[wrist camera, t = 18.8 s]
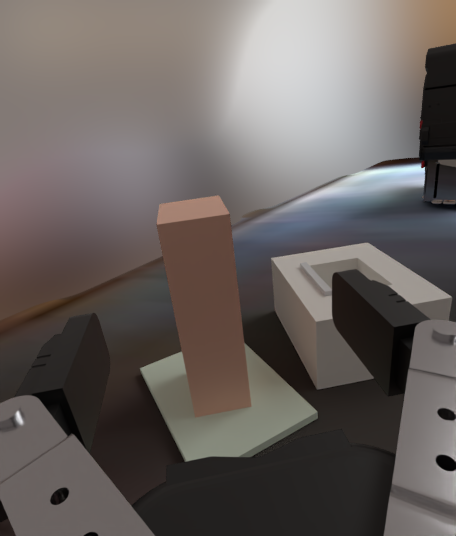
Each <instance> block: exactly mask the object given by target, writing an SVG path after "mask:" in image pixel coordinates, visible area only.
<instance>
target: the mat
mask: <svg viewBox="0 0 456 536" xmlns="http://www.w3.org/2000/svg"><path fill="white" fill-rule="evenodd" d="M244 345H245V353H246V362H247V371H248V380H249V389H250V397H251V406H252V407H247V408H241V409H236V410H231V411H226V412H221V413H216V414H211V415H206V416H200V417H195V414H194V409H193V404H192V399H191V394H190V389H189V384H188V379H187V374H186V369H185V364H184V359H183V354H182V352H179V353H177V354H174V355H172V356H170V357H167V358H165V359H162V360H160V361H157V362H155V363H152V364H150V365H147V366H145V367H142V368H140V370H141V374H142V376H143V378H144V380H145V382H146V384H147V386H148V388H149V390H150V392H151V394H152V396H153V398H154V400H155V402H156V404H157V406H158V408H159V410H160V412H161V414H162V416H163V418H164V420H165V422H166V424H167V426H168V428H169V430H170V432H171V434H172V436H173V438H174V440H175V443H176V445H177V447H178V449H179V451H180V453H181V455H182V457H183V459H184V461H185V462H186V461H191V460H196V459H201V458H205V457H210V456H218V457H252V456H253V455H255V454H257V453H259V452H260V451H262V450H264V449H265V448H267V447H269V446H271V445H272V444H274V443H276V442H278V441H279V440H281V439H283V438H285V437H286V436H288V435H290V434H292V433H293V432H295V431H297V430H298V429H300V428H302V427H304V426H305V425H307V424H309V423H311V422H312V421H314V420H316V419H318V412H317V411H316V410H315V409H314V408H313V407H312V406H311V405H310V404H309V403H308V402H307V401H306V400H305V399H304V398H302V397H301V396H300V395H299V394H298V393H297V392H296V391H295V390H294V389H293V388H292V387H291V386H290V385H289V384H288V383H287V382H285V381H284V380H283V379H282V378H281V377H280V376H279V375H278V374H277V373H276V372H275V371H274V370H273V369H272V368H271V367H270V366H268V365H267V364H266V363H265V362H264V361H263V360H262V359H261V358H260V357H259V356H258V355H257V354H256V353H255V352H254V351H253V350H251V349H250V348H249V347H248V346H247V345H246V344H245V343H244Z"/></svg>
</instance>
